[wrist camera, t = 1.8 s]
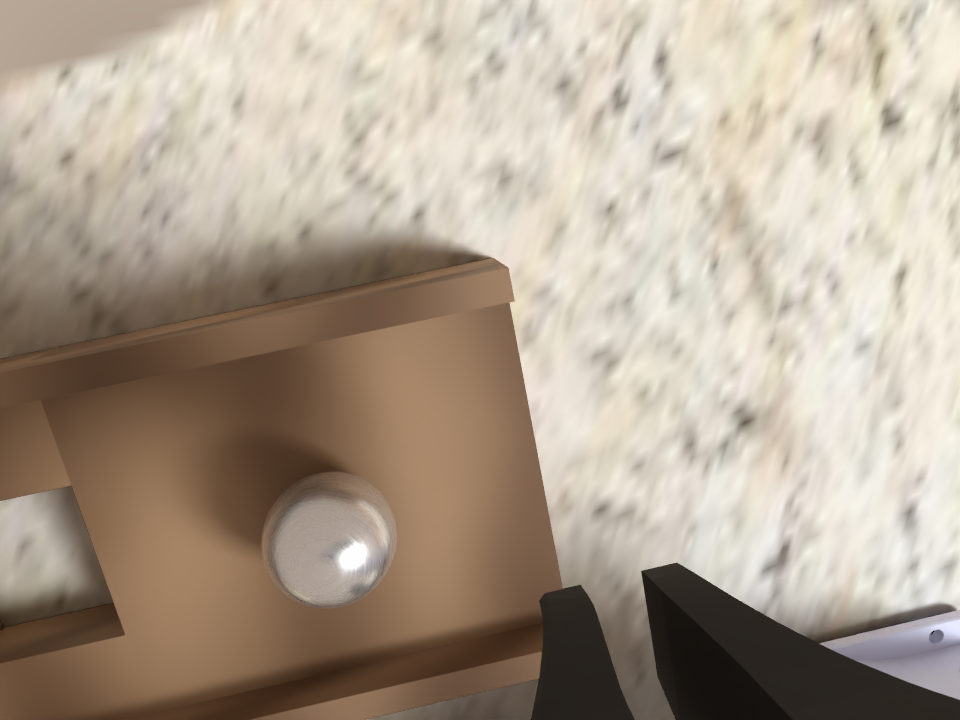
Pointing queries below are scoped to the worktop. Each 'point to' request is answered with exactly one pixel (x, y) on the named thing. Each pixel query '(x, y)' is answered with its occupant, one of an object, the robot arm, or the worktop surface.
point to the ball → (329, 540)
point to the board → (257, 485)
